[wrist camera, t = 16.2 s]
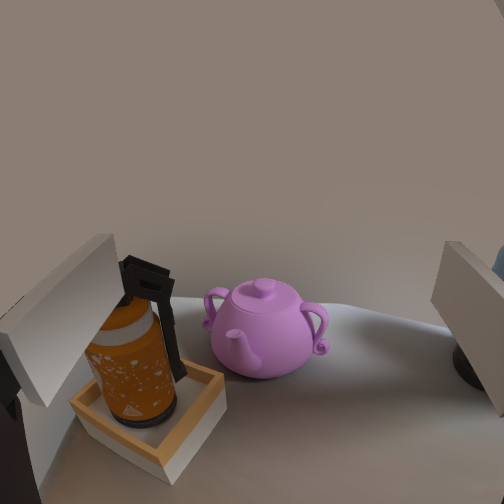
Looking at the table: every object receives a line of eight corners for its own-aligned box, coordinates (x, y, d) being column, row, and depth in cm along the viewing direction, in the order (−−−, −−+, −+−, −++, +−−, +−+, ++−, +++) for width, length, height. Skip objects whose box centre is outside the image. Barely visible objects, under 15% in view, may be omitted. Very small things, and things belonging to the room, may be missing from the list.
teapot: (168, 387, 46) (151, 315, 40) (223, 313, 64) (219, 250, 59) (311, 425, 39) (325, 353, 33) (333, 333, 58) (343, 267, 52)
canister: (108, 387, 38) (64, 254, 30) (182, 371, 43) (161, 236, 34) (116, 438, 31) (54, 296, 23) (202, 417, 35) (179, 271, 27)
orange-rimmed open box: (147, 375, 48) (137, 340, 45) (227, 408, 42) (223, 373, 39) (88, 433, 36) (68, 400, 32) (172, 485, 30) (157, 457, 27)
